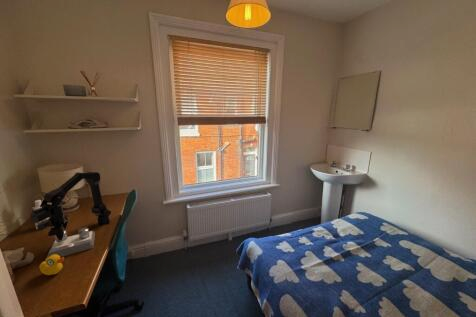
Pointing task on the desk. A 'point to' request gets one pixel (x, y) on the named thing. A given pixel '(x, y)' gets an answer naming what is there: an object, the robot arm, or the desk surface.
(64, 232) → the cylinder
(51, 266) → the duckling
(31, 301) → the desk surface
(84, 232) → the cylinder
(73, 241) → the scale
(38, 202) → the bath foam
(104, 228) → the desk surface
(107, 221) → the robot arm
